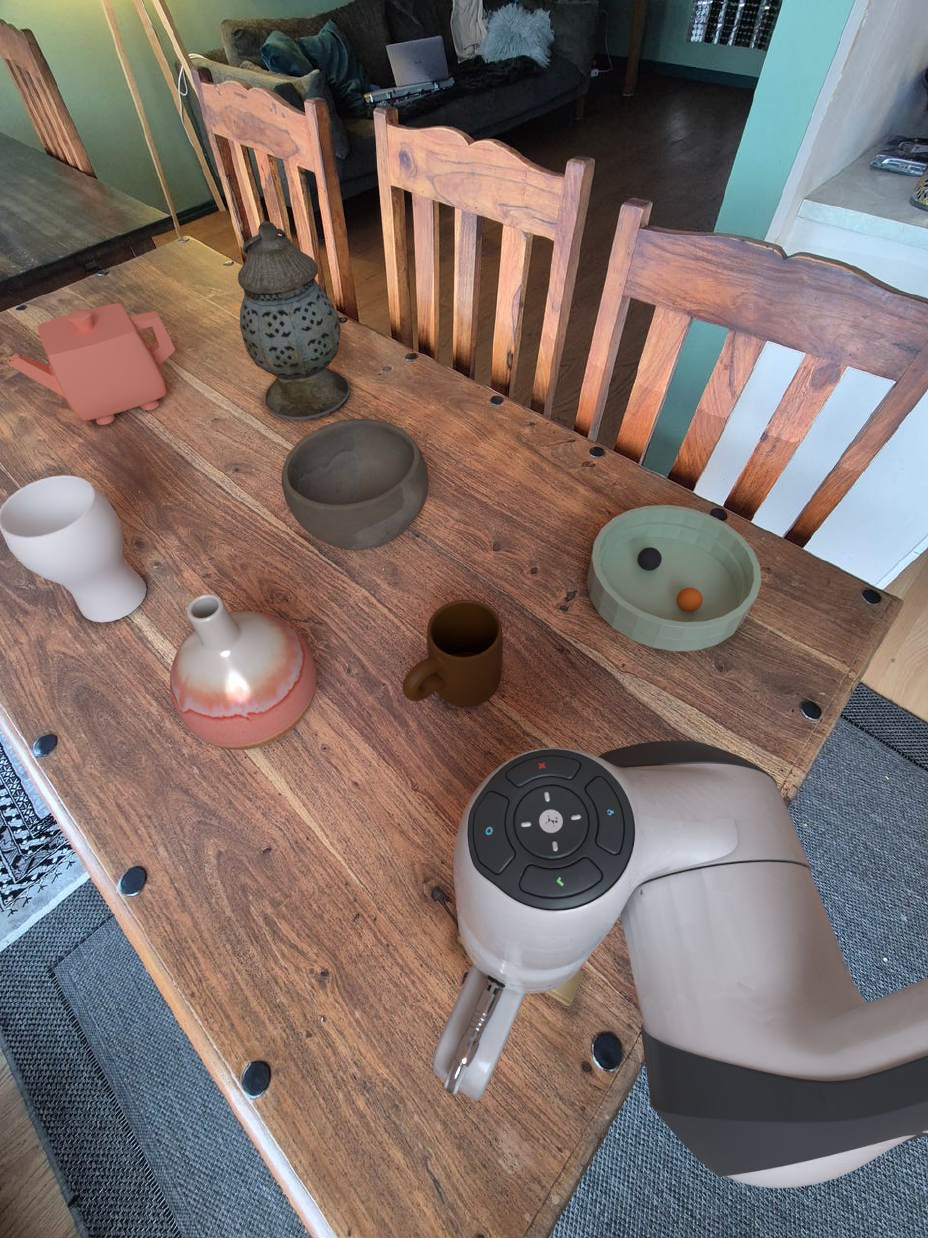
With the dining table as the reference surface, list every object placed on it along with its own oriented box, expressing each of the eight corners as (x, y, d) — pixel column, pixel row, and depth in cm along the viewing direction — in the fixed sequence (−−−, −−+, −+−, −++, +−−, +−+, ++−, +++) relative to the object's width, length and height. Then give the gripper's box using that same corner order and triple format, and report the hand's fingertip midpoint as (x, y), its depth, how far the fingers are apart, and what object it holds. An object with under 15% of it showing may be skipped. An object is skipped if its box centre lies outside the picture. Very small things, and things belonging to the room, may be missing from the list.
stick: (579, 976, 52) (584, 970, 50) (568, 1006, 51) (572, 1002, 48) (470, 915, 55) (470, 907, 53) (457, 942, 54) (456, 935, 51)
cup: (72, 574, 80) (0, 481, 68) (160, 557, 81) (104, 463, 69) (62, 641, 74) (-19, 551, 62) (157, 621, 75) (96, 530, 63)
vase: (312, 640, 73) (271, 531, 59) (340, 743, 65) (300, 644, 51) (189, 677, 70) (116, 571, 56) (204, 788, 62) (123, 698, 48)
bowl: (272, 517, 85) (251, 456, 77) (379, 458, 92) (369, 398, 84) (346, 591, 77) (330, 532, 69) (457, 521, 84) (454, 460, 76)
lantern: (255, 421, 98) (197, 248, 78) (271, 370, 107) (223, 201, 87) (346, 419, 98) (311, 245, 78) (355, 367, 106) (325, 198, 87)
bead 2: (701, 603, 74) (708, 587, 72) (695, 620, 73) (701, 604, 70) (678, 594, 75) (684, 579, 73) (671, 611, 74) (676, 596, 71)
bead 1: (661, 562, 78) (667, 547, 76) (654, 578, 77) (659, 562, 74) (639, 555, 79) (644, 539, 77) (632, 570, 77) (636, 554, 75)
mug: (437, 752, 64) (430, 706, 57) (386, 706, 68) (374, 657, 60) (515, 678, 69) (519, 626, 62) (465, 638, 73) (463, 585, 65)
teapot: (54, 446, 96) (-3, 358, 84) (41, 403, 102) (-14, 317, 91) (198, 399, 102) (163, 312, 91) (177, 362, 109) (141, 277, 97)
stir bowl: (761, 563, 78) (776, 534, 74) (723, 679, 69) (738, 653, 65) (617, 516, 84) (623, 487, 80) (562, 617, 74) (567, 589, 70)
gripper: (500, 1128, 33) (494, 1120, 44) (629, 793, 44) (598, 854, 55) (397, 1059, 35) (416, 1069, 46) (545, 754, 46) (532, 821, 57)
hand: (516, 950), depth 51 cm, fingers open, 8 cm apart
